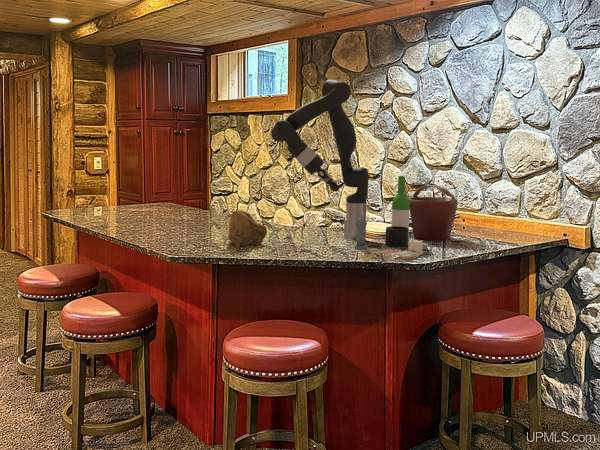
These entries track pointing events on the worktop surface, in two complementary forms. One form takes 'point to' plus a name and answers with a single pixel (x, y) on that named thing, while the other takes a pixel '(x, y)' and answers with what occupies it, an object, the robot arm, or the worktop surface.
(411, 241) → the die
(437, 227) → the bucket
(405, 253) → the board
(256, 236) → the rough brown rock
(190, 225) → the worktop surface
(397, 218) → the wine bottle
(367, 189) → the robot arm
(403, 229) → the mug
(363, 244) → the pawn
